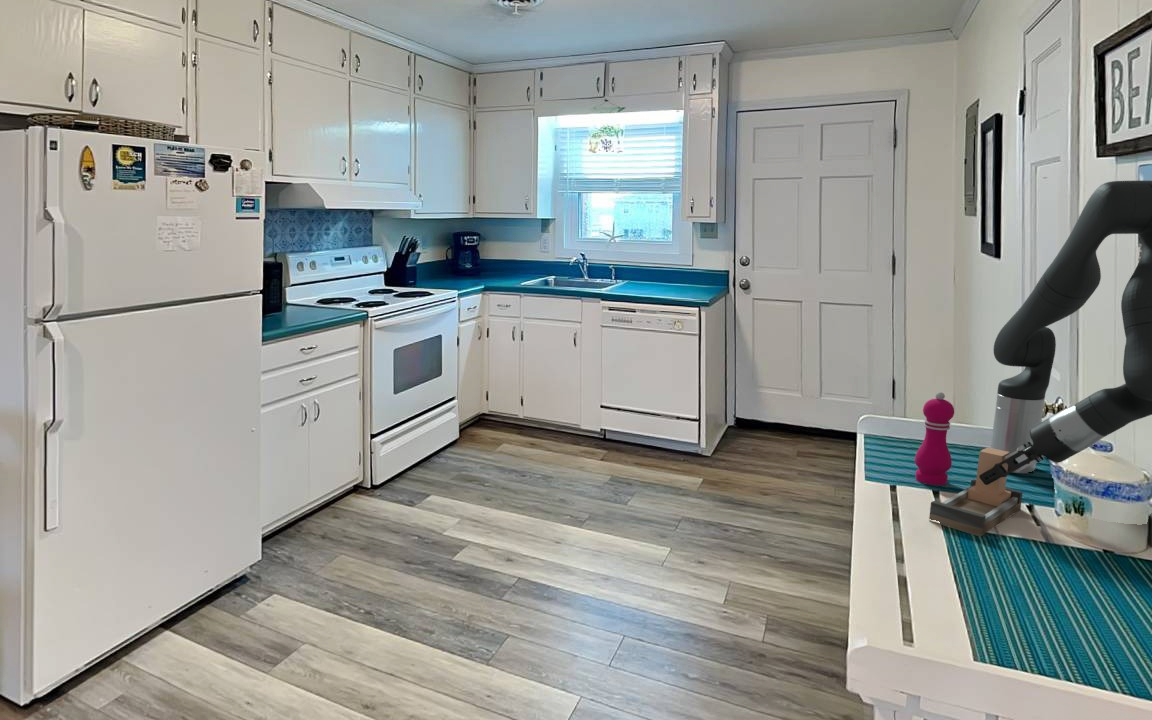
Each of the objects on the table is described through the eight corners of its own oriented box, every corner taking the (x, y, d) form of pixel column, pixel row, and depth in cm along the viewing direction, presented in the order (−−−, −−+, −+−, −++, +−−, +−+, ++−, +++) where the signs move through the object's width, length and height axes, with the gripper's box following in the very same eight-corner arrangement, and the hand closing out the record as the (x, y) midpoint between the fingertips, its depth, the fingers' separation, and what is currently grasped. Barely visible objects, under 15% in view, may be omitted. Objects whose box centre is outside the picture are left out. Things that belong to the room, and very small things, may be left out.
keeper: (977, 492, 142) (983, 445, 140) (1010, 501, 138) (1016, 452, 136) (967, 498, 139) (973, 450, 137) (1000, 507, 134) (1006, 457, 133)
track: (971, 496, 145) (973, 479, 144) (1020, 509, 138) (1022, 491, 137) (929, 520, 132) (931, 502, 131) (980, 536, 125) (982, 517, 124)
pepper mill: (954, 487, 149) (964, 396, 146) (917, 484, 151) (927, 394, 147) (943, 476, 156) (953, 389, 153) (909, 473, 158) (917, 387, 154)
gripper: (1064, 409, 133) (991, 452, 144) (1039, 422, 124) (963, 466, 134) (1094, 443, 130) (1017, 484, 140) (1070, 458, 121) (990, 501, 131)
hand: (991, 475), depth 137 cm, fingers open, 8 cm apart
